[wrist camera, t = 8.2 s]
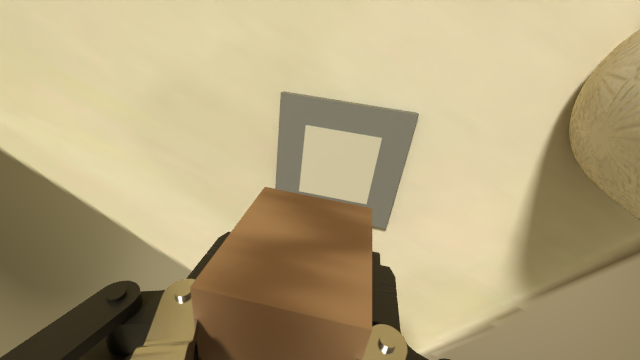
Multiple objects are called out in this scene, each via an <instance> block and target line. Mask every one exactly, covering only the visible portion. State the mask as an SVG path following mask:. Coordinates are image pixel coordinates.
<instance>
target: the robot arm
mask: <svg viewBox="0 0 640 360" xmlns="http://www.w3.org/2000/svg"><path fill="white" fill-rule="evenodd" d="M230 233H231V232H227V233H226V234H224V235H222V236H221V237H219V238H218V239H217V241H216V242H215V243H214V244H213V246H212V247H211V248H210V249H209V251H208V252H207V254H205V256H204V257H203V258H202V260H201V261H200V262H199V263H198V265H197V266H196V267H195V268H194V270H193V271H192V272H191V273H190V275H189V276H188V277H187V278H186V279H182V280H179V281H177V282H175V283H173V284H171V285H170V286H169V287H168V288H167V289H166V290H162V291H143V292H140V288H139V286H138V285H137V284H136V283H134V282H132V281H120V282H116V283H113V284H110V285H108V286H106V287H105V288H103V289H102V290H100V291H99V292H97V293H96V294H94V295H93V296H91V297H90V298H88V299H87V300H85V301H84V302H83V303H81V304H79V305H78V306H76V307H75V308H73V309H72V310H71V311H69V312H67V313H66V314H65V315H63V316H62V317H60V318H59V319H57V320H56V321H54V322H53V323H51V324H50V325H48V326H47V327H45V328H44V329H42V330H41V331H39V332H38V333H36V334H35V335H33V336H32V337H31V338H29V339H28V340H26V341H24V342H23V343H22V344H20V345H19V346H17V347H16V348H14V349H13V350H11V351H10V352H8V353H7V354H5V355H4V356H2V357H1V358H0V360H202V358H200V357H198V349H197V341H196V339H197V335H198V330H199V327H198V319H196V318H194V316H193V308H192V300H191V291H190V286H191V285H192V284H193V282H194V281H195V280H196V278H197V277H198V276H199V274H200V273H201V272H202V270H203V269H204V268H205V266H206V265H207V264H208V262H209V261H210V260H211V258H212V257H213V256H214V254H215V253H216V252H217V250H218V249H219V248H220V246H221V245H222V244H223V242H224V241H225V240H226V238H227V237H228V236H229V234H230ZM356 360H361V359H357V358H356ZM362 360H428V359H426V358H425V357H423V356H421V355H419V354H418V353H416V352H415V351H414V350H412V349H411V348H410V347H409V346H408V344H407V343H406V341H405V339H404V337H403V336H402V334H401V331H400V323H399V312H398V302H397V292H396V281H395V276H394V274H393V272H392V271H391V269H390V267H386V266H382V265H380V254H379V253H377V252H372V332H371V335H370V338H369V341H368V344H367V347H366V350H365V353H364V356H363V359H362ZM439 360H449V359H439Z"/></svg>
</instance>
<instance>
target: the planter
mask: <svg viewBox="0 0 640 360" xmlns="http://www.w3.org/2000/svg"><path fill="white" fill-rule="evenodd" d="M569 137H570V143H571V148H572V151H573V154H574V156H575V158H576V160H577V162H578V164H579V165H580V167H581V168H582V169H583V171H584V172H585V173H586V175H587V176H588V177H589V178H590V179H591V180H592V181H593V182H594V183H595V184H596V185H597V186H598V187H599V188H600V189H602V190H603V191H604V192H605V193H606V194H607V195H608V196H610V197H611V198H612V199H613V200H615V201H616V202H617V203H618V204H620V205H621V206H622V207H624V208H625V209H626V210H628V211H629V212H630V213H631V214H633V215H634V216H635V217H637V218H638V219H639V220H640V30H639V31H637V32H636V33H634V34H633V35H631V36H630V37H629V38H627V39H626V40H625V41H623V42H622V43H621V44H620V45H618V46H617V47H616V48H615V49H614V50H613V51H612V52H611V53H609V55H608V56H607V57H606V58H605V59H604V60H603V61H602V62H601V63H600V64H599V65H598V66H597V68H596V69H595V70H594V71H593V72H592V74H591V75H590V77H589V78H588V79H587V81H586V82H585V84H584V86H583V87H582V89H581V91H580V93H579V95H578V97H577V99H576V101H575V104H574V107H573V110H572V113H571V118H570V125H569Z"/></svg>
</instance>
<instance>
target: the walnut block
mask: <svg viewBox="0 0 640 360" xmlns="http://www.w3.org/2000/svg"><path fill="white" fill-rule="evenodd" d="M190 291H191V300H192V308H193V316H194V318H196V319H198V327H199V330H198V335H197V339H196V341H197V349H198V357H200V358H202V360H356V358H357V359H361V360H362V359H363V356H364V353H365V350H366V347H367V344H368V341H369V338H370V335H371V332H372V208H369V207H364V206H359V205H354V204H348V203H343V202H338V201H333V200H328V199H323V198H318V197H313V196H308V195H303V194H298V193H293V192H288V191H282V190H277V189H272V188H267V187H265V188H264V189H263V190H262V192H261V193H260V194H259V196H258V197H257V198H256V200H255V201H254V202H253V204H252V205H251V206H250V208H249V209H248V210H247V212H246V213H245V214H244V216H243V217H242V218H241V220H240V221H239V222H238V224H237V225H236V226H235V228H234V229H233V230H232V232H231V233H230V234H229V236H228V237H227V238H226V240H225V241H224V242H223V244H222V245H221V246H220V248H219V249H218V250H217V252H216V253H215V254H214V256H213V257H212V258H211V260H210V261H209V262H208V264H207V265H206V266H205V268H204V269H203V270H202V272H201V273H200V274H199V276H198V277H197V278H196V280H195V281H194V282H193V284H192V285H191V286H190Z"/></svg>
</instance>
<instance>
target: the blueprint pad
mask: <svg viewBox="0 0 640 360" xmlns="http://www.w3.org/2000/svg"><path fill="white" fill-rule="evenodd" d="M418 116H419V114H418V113H414V112H408V111H401V110H395V109H389V108H383V107H376V106H370V105H364V104H358V103H352V102H345V101H339V100H333V99H327V98H320V97H314V96H308V95H302V94H296V93H289V92H281V100H280V118H279V136H278V153H277V171H276V189H277V190H282V191H288V192H293V193H298V194H303V195H308V196H313V197H318V198H323V199H328V200H333V201H338V202H343V203H348V204H354V205H359V206H364V207H369V208H372V226H373V227H378V228H383V229H386V227H387V223H388V220H389V216H390V213H391V210H392V206H393V203H394V199H395V196H396V192H397V189H398V185H399V182H400V178H401V175H402V171H403V168H404V164H405V161H406V157H407V154H408V150H409V147H410V143H411V140H412V136H413V133H414V130H415V126H416V123H417V119H418Z"/></svg>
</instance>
